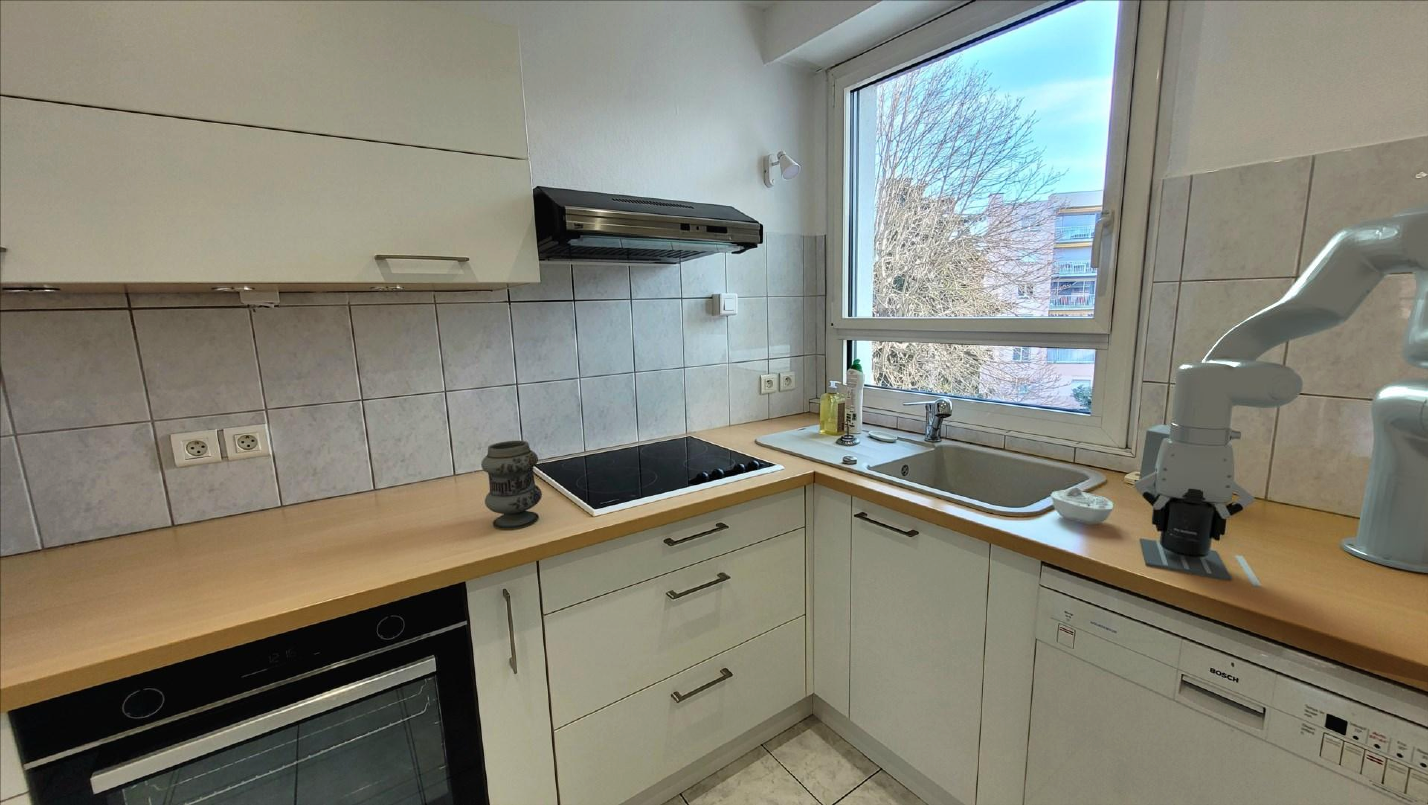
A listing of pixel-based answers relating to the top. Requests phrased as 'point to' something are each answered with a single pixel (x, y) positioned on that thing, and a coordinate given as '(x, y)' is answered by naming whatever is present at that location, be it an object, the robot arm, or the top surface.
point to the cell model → (1081, 506)
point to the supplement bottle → (1188, 525)
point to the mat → (1183, 561)
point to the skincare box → (1152, 452)
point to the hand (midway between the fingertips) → (1186, 532)
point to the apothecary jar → (511, 484)
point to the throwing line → (1248, 571)
